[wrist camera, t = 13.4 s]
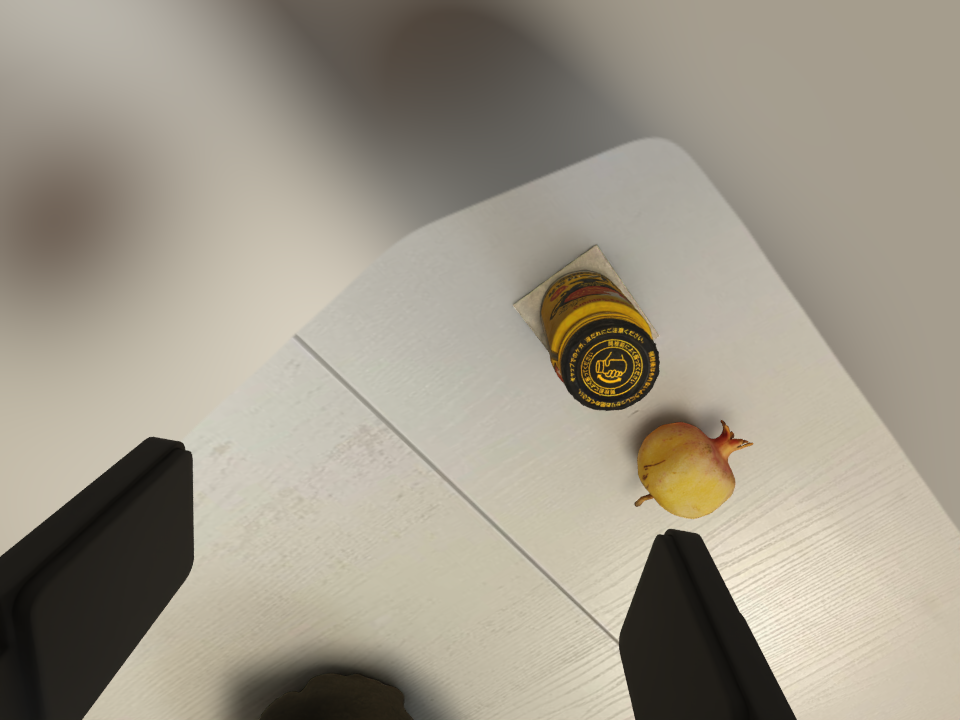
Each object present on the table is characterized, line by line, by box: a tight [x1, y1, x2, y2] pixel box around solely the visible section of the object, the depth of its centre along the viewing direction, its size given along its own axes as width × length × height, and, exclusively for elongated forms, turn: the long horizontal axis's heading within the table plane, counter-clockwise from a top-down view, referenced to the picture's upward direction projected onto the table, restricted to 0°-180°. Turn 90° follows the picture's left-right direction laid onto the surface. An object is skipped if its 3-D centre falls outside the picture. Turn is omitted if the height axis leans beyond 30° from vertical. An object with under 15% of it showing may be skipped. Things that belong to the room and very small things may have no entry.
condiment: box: [513, 245, 660, 411], centre depth 35 cm, size 7×8×12 cm
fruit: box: [635, 420, 753, 519], centre depth 41 cm, size 7×7×10 cm
